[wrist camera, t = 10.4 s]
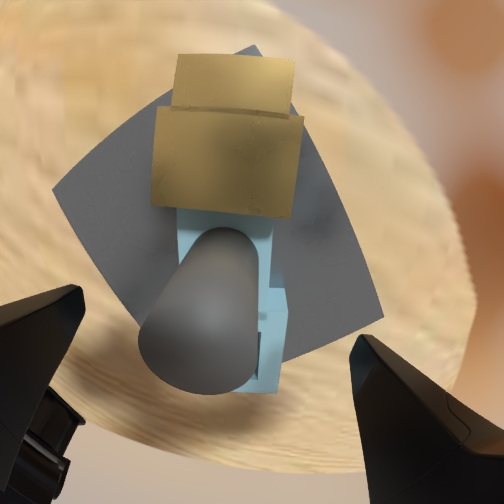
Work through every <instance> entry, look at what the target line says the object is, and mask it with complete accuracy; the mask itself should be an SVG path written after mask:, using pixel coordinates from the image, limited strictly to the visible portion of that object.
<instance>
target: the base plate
mask: <svg viewBox="0 0 504 504" xmlns="http://www.w3.org/2000/svg"><path fill="white" fill-rule="evenodd" d="M294 69H295V61H292V60H285V59H278V58H269V57H263V56H262V55H261V53H260V52H259V50H258V49H257V47H256V46H255V45H252V46H250V47H248V48H246V49H243V50H241V51H239V52H237V53H235V54H179V55H178V60H177V66H176V73H175V79H174V86H173V89H171V90H170V91H168V92H166V93H165V94H163V95H162V96H160V97H159V98H158V99H156V100H155V101H153V102H152V103H150V104H149V105H147V106H146V107H145V108H143V109H142V110H141V111H139V112H138V113H136V114H135V115H134V116H132V117H131V118H130V119H129V120H127V121H126V122H125V123H123V124H122V125H121V126H120V127H118V128H117V129H116V130H115V131H113V132H112V133H111V134H110V135H109V136H107V137H106V138H105V139H104V140H103V141H102V142H100V143H99V144H98V145H97V146H96V147H95V148H94V149H92V150H91V151H90V152H89V153H88V154H87V155H86V156H85V157H84V158H83V159H82V160H81V161H80V162H78V163H77V164H76V165H75V166H74V167H73V168H72V169H71V170H70V171H69V172H68V173H67V174H66V175H65V176H64V177H63V178H62V179H61V180H60V181H59V183H58V184H57V185H56V186H55V187H54V188H53V189H52V191H53V193H54V195H55V197H56V199H57V201H58V203H59V205H60V206H61V208H62V210H63V212H64V214H65V216H66V217H67V219H68V221H69V223H70V225H71V226H72V228H73V230H74V231H75V233H76V235H77V236H78V238H79V240H80V241H81V243H82V245H83V246H84V248H85V250H86V251H87V253H88V254H89V256H90V257H91V259H92V261H93V262H94V264H95V265H96V267H97V268H98V270H99V271H100V273H101V274H102V276H103V277H104V278H105V280H106V281H107V283H108V284H109V286H110V287H111V288H112V290H113V291H114V293H115V294H116V295H117V297H118V298H119V300H120V301H121V302H122V304H123V305H124V306H125V308H126V309H127V310H128V311H129V313H130V314H131V315H132V317H133V318H134V319H135V320H136V322H137V323H138V324H139V325H140V327H141V326H142V325H143V323H144V321H145V320H146V318H147V316H148V315H149V313H150V311H151V310H152V308H153V306H154V305H155V303H156V301H157V300H158V298H159V296H160V295H161V293H162V292H163V290H164V288H165V287H166V285H167V284H168V282H169V280H170V279H171V277H172V276H173V274H174V272H175V271H176V269H177V268H178V266H179V253H178V235H177V211H176V207H177V208H188V209H199V210H209V211H219V212H229V213H238V214H247V215H256V216H265V217H273V234H272V250H271V265H270V279H269V288H285V295H286V301H287V307H288V319H287V327H286V334H285V342H284V349H283V356H282V363H283V362H286V361H288V360H291V359H293V358H296V357H298V356H301V355H303V354H306V353H308V352H311V351H313V350H315V349H318V348H320V347H322V346H325V345H327V344H329V343H331V342H334V341H336V340H338V339H340V338H342V337H345V336H347V335H349V334H351V333H353V332H355V331H357V330H359V329H361V328H363V327H365V326H367V325H369V324H371V323H373V322H375V321H377V320H379V319H381V318H383V317H384V315H383V311H382V308H381V305H380V302H379V299H378V296H377V293H376V290H375V287H374V284H373V281H372V278H371V275H370V272H369V269H368V267H367V264H366V261H365V259H364V256H363V253H362V251H361V248H360V245H359V243H358V240H357V238H356V235H355V233H354V230H353V228H352V225H351V223H350V220H349V218H348V216H347V213H346V211H345V209H344V206H343V204H342V202H341V200H340V197H339V195H338V193H337V191H336V188H335V186H334V184H333V182H332V180H331V178H330V176H329V173H328V171H327V169H326V167H325V165H324V163H323V161H322V159H321V157H320V155H319V153H318V151H317V149H316V147H315V145H314V143H313V141H312V139H311V138H310V136H309V134H308V132H307V130H306V128H305V126H304V124H303V123H304V116H299V115H298V114H297V112H296V110H295V108H294V107H293V105H292V103H291V96H292V88H293V79H294ZM259 333H260V332H258V348H259Z"/></svg>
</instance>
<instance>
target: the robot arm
mask: <svg viewBox="0 0 504 504" xmlns="http://www.w3.org/2000/svg"><path fill="white" fill-rule="evenodd" d="M85 310H86V308H85V301H84V295H83V290H82V288H81V287H80V286H77V285H73V284H69V285H66V286H63V287H60V288H56V289H53V290H50V291H47V292H43V293H40V294H37V295H34V296H31V297H27V298H24V299H21V300H18V301H15V302H12V303H9V304H5V305H2V306H0V504H51V501H52V499H54V500H55V499H57V497H58V496H59V494H60V493H61V490H62V488H63V485H64V482H65V478H66V475H67V472H68V468H69V465H70V462H71V461H70V460H69V459H67V458H65V457H63V455H64V453H65V451H66V449H67V446H68V444H69V442H70V440H71V438H72V436H73V434H74V432H75V430H76V428H77V426H78V425H85V423H86V421H85V420H84V419H83V418H82V417H80V416H79V415H78V414H77V413H76V412H75V411H74V410H73V409H72V408H70V407H69V406H68V405H67V404H66V403H65V402H64V401H63V400H62V399H61V398H60V397H59V396H58V395H57V394H56V393H55V392H54V391H53V390H52V389H51V388H50V387H49V386H48V385H49V383H50V381H51V379H52V377H53V375H54V374H55V372H56V370H57V368H58V366H59V365H60V363H61V361H62V359H63V358H64V356H65V354H66V352H67V350H68V348H69V346H70V344H71V342H72V340H73V338H74V336H75V333H76V331H77V329H78V327H79V325H80V323H81V321H82V319H83V317H84V315H85ZM349 363H350V372H351V382H352V393H353V401H354V406H355V411H356V416H357V422H358V427H359V432H360V438H361V444H362V450H363V456H364V462H365V469H366V475H367V482H368V490H369V498H370V504H504V430H503V429H501V428H499V427H497V426H496V425H494V424H493V423H491V422H490V421H488V420H487V419H485V418H484V417H482V416H481V415H479V414H477V413H476V412H474V411H473V410H471V409H470V408H468V407H467V406H465V405H464V404H463V403H461V402H460V401H458V400H457V399H456V398H454V397H453V396H452V395H451V394H449V393H448V392H446V391H445V390H444V389H443V388H441V387H440V386H439V385H437V384H436V383H435V382H433V381H432V380H431V379H430V378H428V377H427V376H426V375H424V374H423V373H422V372H420V371H419V370H418V369H416V368H415V367H414V366H412V365H411V364H410V363H408V362H407V361H406V360H404V359H403V358H402V357H400V356H399V355H398V354H397V353H395V352H394V351H393V350H391V349H390V348H389V347H387V346H386V345H385V344H383V343H382V342H381V341H379V340H378V339H377V338H375V337H374V336H373V335H368V334H361V335H359V336H358V338H357V340H356V342H355V344H354V346H353V348H352V351H351V353H350V356H349Z"/></svg>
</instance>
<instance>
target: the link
mask: <svg viewBox="0 0 504 504" xmlns="http://www.w3.org/2000/svg"><path fill="white" fill-rule="evenodd" d="M176 211H177V235H178V253H179V266H178V268H177V269H176V271H175V272H174V274H173V276H172V277H171V279H170V280H169V282H168V284H167V285H166V287H165V288H164V290H163V292H162V293H161V295H160V296H159V298H158V300H157V301H156V303H155V305H154V306H153V308H152V310H151V311H150V313H149V315H148V316H147V318H146V320H145V321H144V323H143V325H142V326H141V329H140V331H139V336H138V345H139V350H140V353H141V356H142V358H143V360H144V361H145V363H146V364H147V366H148V367H149V368H150V369H151V371H152V372H153V373H154V374H155V375H157V376H158V377H159V378H160V379H162V380H163V381H165V382H166V383H168V384H170V385H171V386H173V387H176V388H178V389H180V390H183V391H186V392H190V393H195V394H202V395H216V394H223V393H227V392H243V393H271V394H277V389H278V383H279V376H280V370H281V363H282V356H283V349H284V342H285V334H286V327H287V319H288V307H287V301H286V295H285V288H269V279H270V265H271V250H272V234H273V217H265V216H256V215H247V214H238V213H229V212H219V211H209V210H199V209H188V208H177V207H176ZM258 332H260V333H259V348H258Z"/></svg>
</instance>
